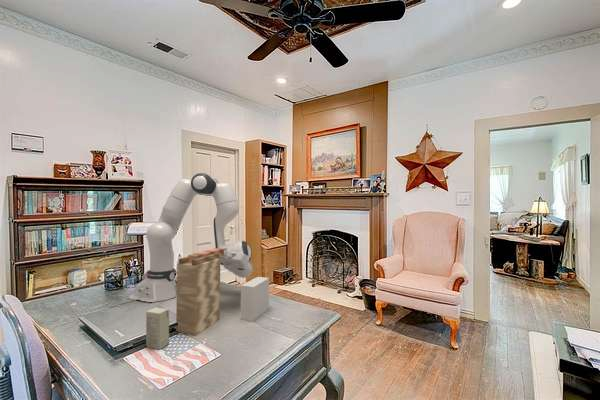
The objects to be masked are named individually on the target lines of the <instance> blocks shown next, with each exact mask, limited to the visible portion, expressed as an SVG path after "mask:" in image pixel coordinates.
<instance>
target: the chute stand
mask: <svg viewBox="0 0 600 400" xmlns="http://www.w3.org/2000/svg"><path fill="white" fill-rule="evenodd" d="M176 267H177V268H176V270H177V271H176V294H177V295H176V312H175V314H176V315H175V316H176V319H175V320H176V321H175V323H176V322H178V326H177V327H176V326H175V332H176V331H178V332H177V333H180V332H181V333H182V334H185V333H186V335H191V336H195V337H196V336H197V335H198V334H200V333H202V332H203V331H205V330H206V329H208V328H209V327H211V326H213V325H214V324H215V323H218V322H219V321H220V320H221V319H220V312H221V311H220V309H221V308H220V307H221V258H219V253H216V254H212V255H208V256H205V257H201V258H197V259H194V260H192V263H188V255H187V256H185V257H180V258H178V263H177V266H176Z"/></svg>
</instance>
